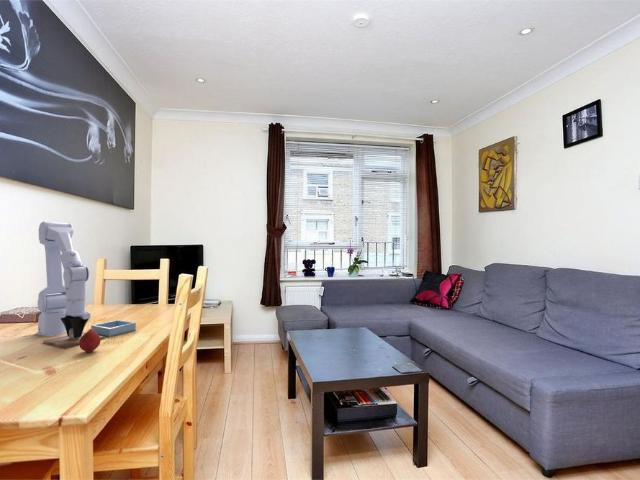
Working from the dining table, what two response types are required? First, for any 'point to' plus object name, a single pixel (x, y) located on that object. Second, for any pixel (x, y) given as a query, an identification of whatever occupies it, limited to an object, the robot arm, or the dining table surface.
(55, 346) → the mat
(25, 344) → the dining table surface
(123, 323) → the light blue tray
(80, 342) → the onion
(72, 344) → the lid
